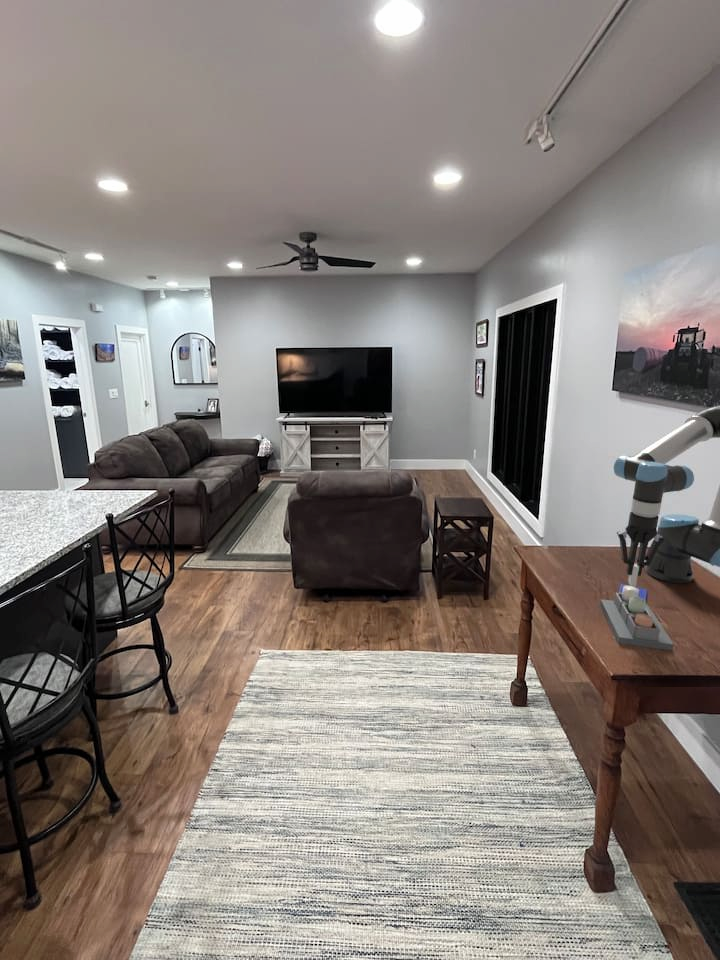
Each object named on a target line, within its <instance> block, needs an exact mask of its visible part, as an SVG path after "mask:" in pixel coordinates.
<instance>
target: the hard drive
mask: <svg viewBox="0 0 720 960" xmlns="http://www.w3.org/2000/svg"><path fill="white" fill-rule="evenodd" d="M624 586H630V584H629V585H628V584H624V583H621V584H620V587H619V592H618V593H622V591H623V587H624ZM632 587H635V588H637V589H638V590H639V594H638V596H639V597H640V598H643V599H644V600H646V601H647V593H648V589H646V588H644V587H643V588H641V587H638V586H632Z"/></svg>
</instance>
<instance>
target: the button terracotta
mask: <svg viewBox="0 0 720 960" xmlns="http://www.w3.org/2000/svg"><path fill="white" fill-rule="evenodd" d="M652 624H653V618H652V617H651V616H649V615H646V614H636V617H635V625H636V626H640V627H648V628H652Z"/></svg>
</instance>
